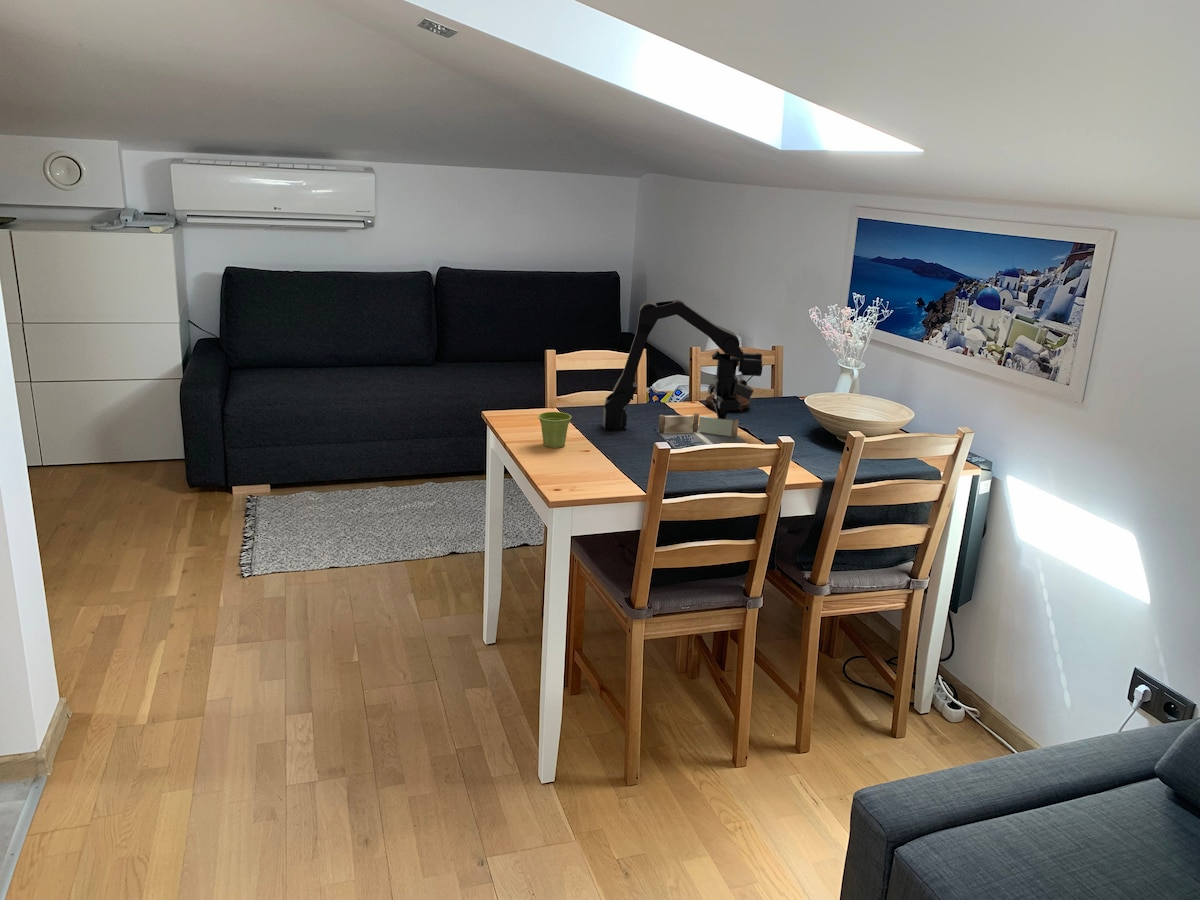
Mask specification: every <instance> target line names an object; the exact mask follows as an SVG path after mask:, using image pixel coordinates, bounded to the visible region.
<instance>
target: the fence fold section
mask: <svg viewBox="0 0 1200 900" xmlns="http://www.w3.org/2000/svg"><path fill="white" fill-rule="evenodd" d="M698 426H699V430H698V431H699V432H706V433H713V434H720V435H727V436H733V437H737V435H738V430H739V419H726V418H725V419H721V418H718V417H714V416H705V415H699V421H698Z"/></svg>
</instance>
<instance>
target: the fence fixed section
mask: <svg viewBox="0 0 1200 900" xmlns="http://www.w3.org/2000/svg"><path fill="white" fill-rule="evenodd" d="M699 419H700V413H696V412H695V413H693V415H692V414H690V415H689V414H688V415H687V414H686V415H684V414H683V415H665V414H659V418H658V427H659V430H658V433H677V432H692V431H693V432H698V426H699ZM692 426H693V429H692ZM658 433H657V434H658Z"/></svg>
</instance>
